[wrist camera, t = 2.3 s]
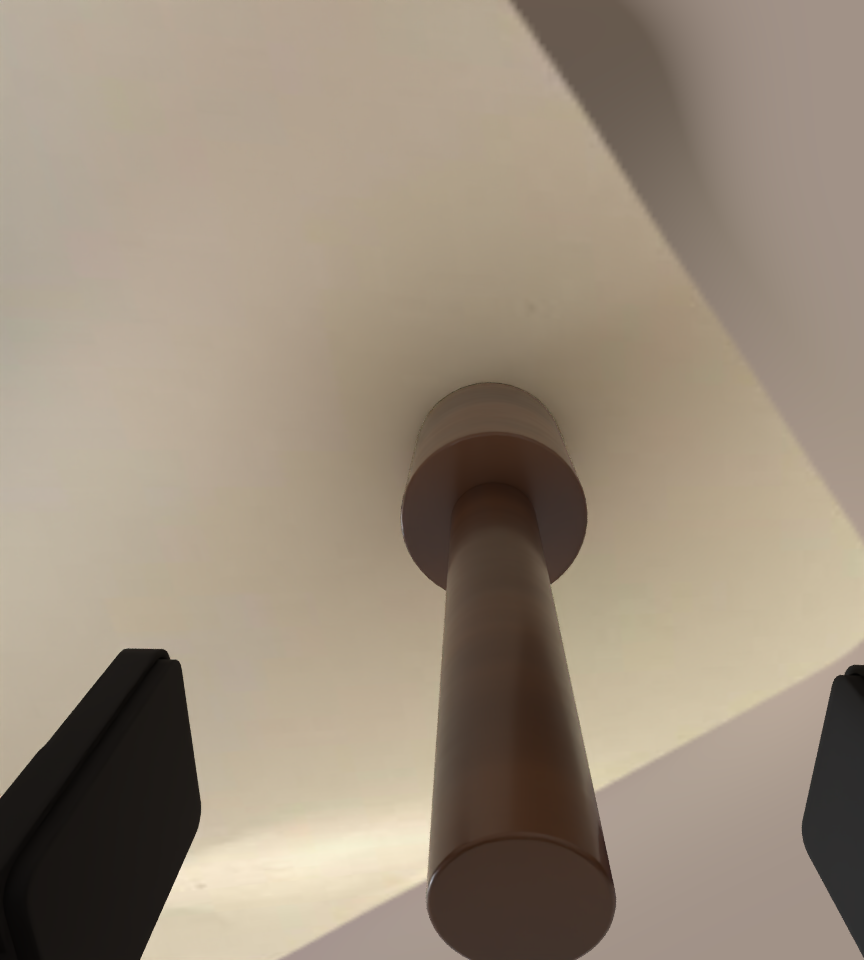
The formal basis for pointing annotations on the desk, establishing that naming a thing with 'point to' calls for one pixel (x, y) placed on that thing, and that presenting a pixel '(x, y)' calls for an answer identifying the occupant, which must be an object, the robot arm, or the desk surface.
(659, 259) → the desk surface
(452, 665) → the pestle
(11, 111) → the desk surface
